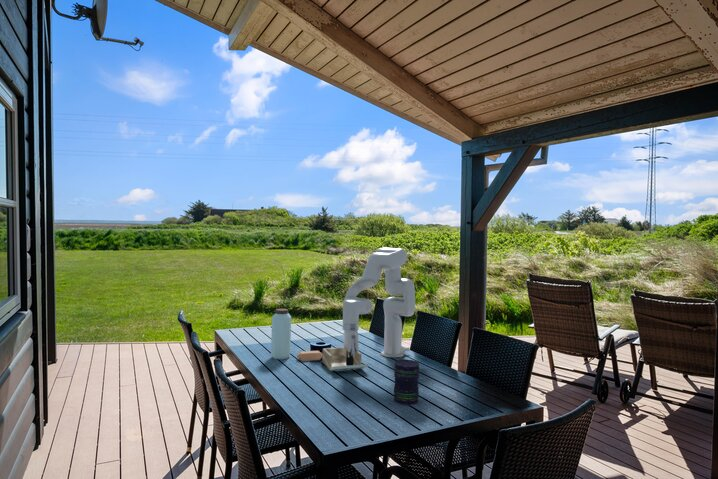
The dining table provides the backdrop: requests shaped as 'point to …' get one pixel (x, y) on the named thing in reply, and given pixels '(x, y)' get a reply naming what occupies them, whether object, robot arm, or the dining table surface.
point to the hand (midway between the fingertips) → (349, 365)
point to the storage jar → (406, 382)
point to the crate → (338, 357)
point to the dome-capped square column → (309, 355)
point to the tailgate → (348, 367)
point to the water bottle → (281, 334)
